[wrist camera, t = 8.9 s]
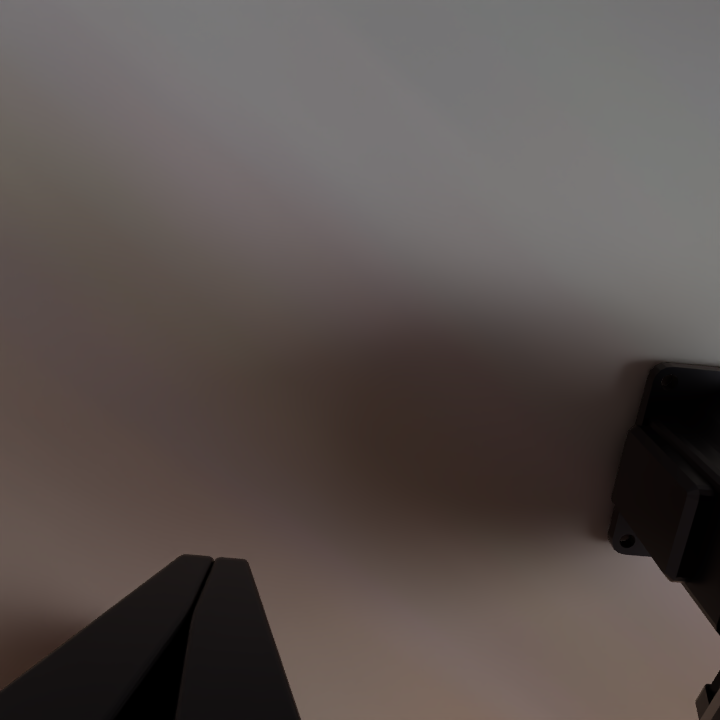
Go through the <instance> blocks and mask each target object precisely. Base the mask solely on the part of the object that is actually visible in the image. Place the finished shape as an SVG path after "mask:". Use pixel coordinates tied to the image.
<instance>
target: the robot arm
mask: <svg viewBox="0 0 720 720" xmlns="http://www.w3.org/2000/svg"><path fill="white" fill-rule="evenodd" d="M671 374H672V380H671V382H670V383H669V384H667V385H665V386H661V381H662V379H663V378H664V377H665V376H666V375H671ZM611 499H612V502H613V503H614V505H615V507H614V511H613V515H612V519H611V523H610V527H609V531H608V540H609V542H610V543H611V545H612V547H613V548H614V550H615V551H617V552H618V553H621V554H625V555H637V556H648V557H652V558H653V560H654V561H655V562H656V564H657V565H658V567H659V568H660V570H661V571H662V572H663V574H664V575H665V576H666V577H667V579H668V580H669V581H671V582H679V583H681V584H682V585H683V586H684V588H685V589H686V590H687V592H688V593H689V594H690V596H691V597H692V599H693V600H694V601H695V603H696V604H697V605H698V607H699V608H700V609H701V611H702V612H703V614H704V615H705V616H706V618H707V619H708V620H709V622H710V623H711V624H712V626H713V627H714V629H715V630H716V631H717V633H718V634H719V635H720V368H719V367H709V366H699V365H689V364H679V363H669V362H667V363H660V364H658V365H656V366H655V367H654V368H653V369H651V370H650V372H649V375H648V377H647V381H646V385H645V389H644V393H643V397H642V401H641V405H640V409H639V413H638V416H637V420H636V424H635V426H633V427H632V428H631V429H630V430H629V431H628V433H627V437H626V441H625V445H624V449H623V453H622V457H621V461H620V465H619V469H618V473H617V477H616V481H615V485H614V489H613V493H612V498H611ZM628 534H630V537H629V538H628V539H627V540H625V541H620V539H621V537H623V536H624V535H628ZM696 708H697V712H698V717H699V720H720V671H719V672H718V674H717V676H716V677H715V679H714V681H713V682H712V684H706V685H705V686H704V688H703V689H702V691H701V693H700V694H699V696H698V698H697V699H696ZM0 720H301V718H300V715H299V712H298V709H297V706H296V703H295V700H294V697H293V694H292V691H291V688H290V685H289V682H288V679H287V676H286V673H285V670H284V667H283V664H282V661H281V658H280V655H279V652H278V649H277V646H276V643H275V641H274V638H273V635H272V632H271V629H270V626H269V623H268V620H267V617H266V614H265V611H264V608H263V605H262V602H261V599H260V596H259V593H258V590H257V587H256V584H255V581H254V578H253V575H252V572H251V569H250V566H249V563H248V562H247V561H246V560H245V559H237V558H224V557H219V558H217V559H216V560H215V561H214V559H213V558H212V557H210V556H201V555H189V554H184V555H181V556H179V557H178V558H176V559H175V560H174V561H173V562H171V563H170V564H169V565H167V566H166V567H165V568H163V569H162V570H161V571H159V572H158V573H157V574H155V575H154V576H153V577H151V578H150V579H149V580H147V581H146V582H145V583H143V584H142V585H141V586H139V587H138V588H137V589H135V590H134V591H133V592H131V593H130V594H129V595H127V596H126V597H125V598H123V599H122V600H121V601H119V602H118V603H117V604H115V605H114V606H113V607H111V608H110V609H109V610H107V611H106V612H105V613H103V614H102V615H101V616H99V617H98V618H97V619H95V620H94V621H93V622H91V623H90V624H89V625H87V626H86V627H85V628H83V629H82V630H81V631H80V632H78V633H77V634H76V635H74V636H73V637H72V638H70V639H69V640H68V641H66V642H65V643H64V644H62V645H61V646H60V647H58V648H57V649H56V650H54V651H53V652H52V653H50V654H49V655H48V656H46V657H45V658H44V659H42V660H41V661H40V662H38V663H37V664H36V665H34V666H33V667H32V668H30V669H29V670H28V671H26V672H25V673H24V674H22V675H21V676H20V677H18V678H17V679H16V680H14V681H13V682H12V683H10V684H9V685H8V686H6V687H5V688H4V689H2V690H1V691H0Z"/></svg>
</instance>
